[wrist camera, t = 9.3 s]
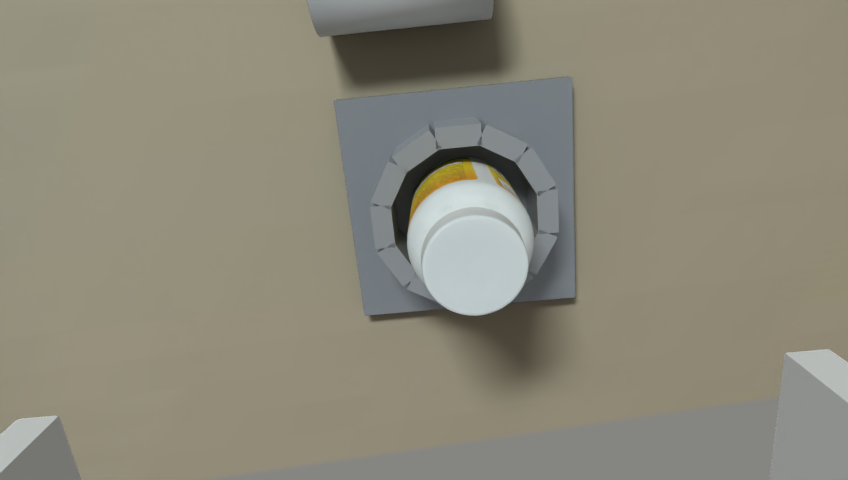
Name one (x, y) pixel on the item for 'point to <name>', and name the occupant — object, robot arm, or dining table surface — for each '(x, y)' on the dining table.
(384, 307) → the coupling socket
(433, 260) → the supplement bottle
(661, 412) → the dining table surface
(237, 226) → the dining table surface
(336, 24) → the pipe stub
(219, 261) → the dining table surface
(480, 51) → the dining table surface
